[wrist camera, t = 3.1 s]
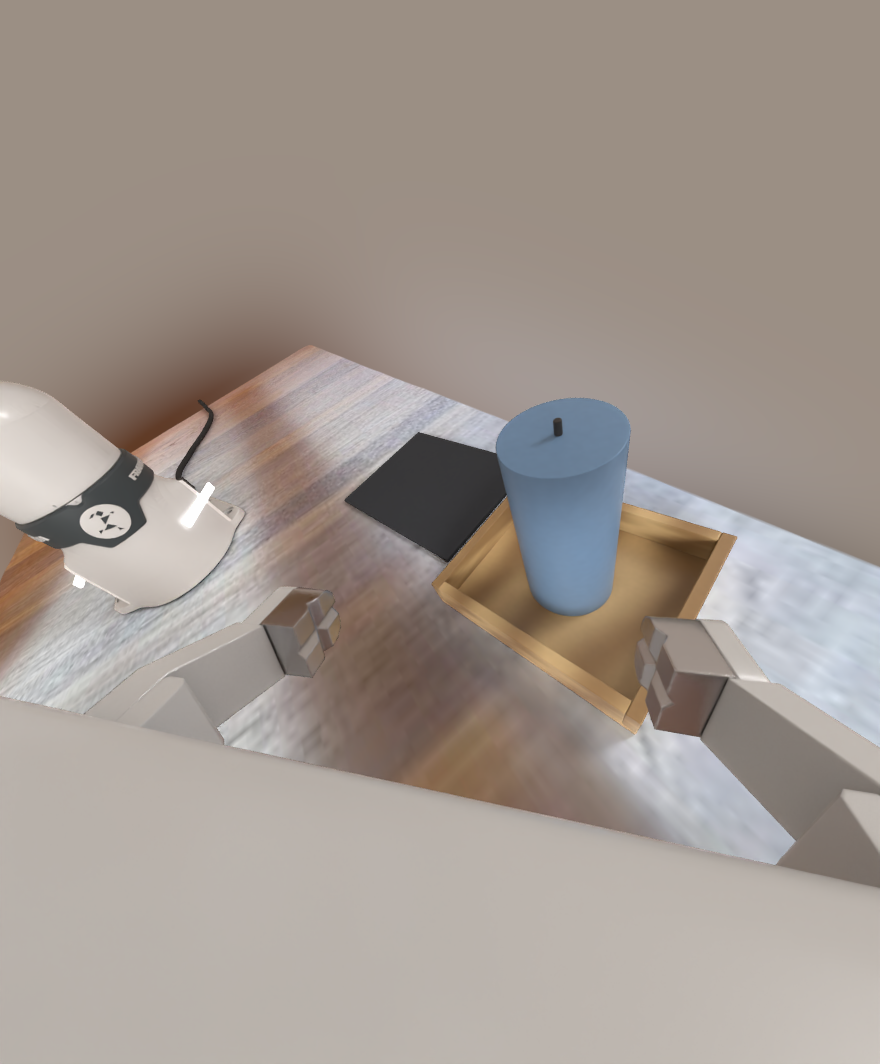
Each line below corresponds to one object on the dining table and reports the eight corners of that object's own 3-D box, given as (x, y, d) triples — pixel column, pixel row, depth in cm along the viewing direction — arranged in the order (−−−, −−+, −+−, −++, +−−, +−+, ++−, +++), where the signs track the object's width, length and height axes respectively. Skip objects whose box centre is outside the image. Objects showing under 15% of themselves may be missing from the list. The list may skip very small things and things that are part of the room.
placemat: (345, 502, 42) (344, 499, 42) (419, 434, 47) (418, 431, 46) (448, 562, 31) (447, 559, 31) (532, 465, 36) (531, 462, 35)
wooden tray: (442, 600, 29) (431, 583, 27) (530, 495, 33) (526, 473, 31) (635, 735, 19) (641, 725, 17) (724, 561, 23) (737, 536, 21)
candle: (513, 590, 27) (467, 446, 16) (554, 537, 28) (536, 378, 18) (587, 632, 23) (588, 480, 13) (627, 567, 25) (658, 389, 14)
